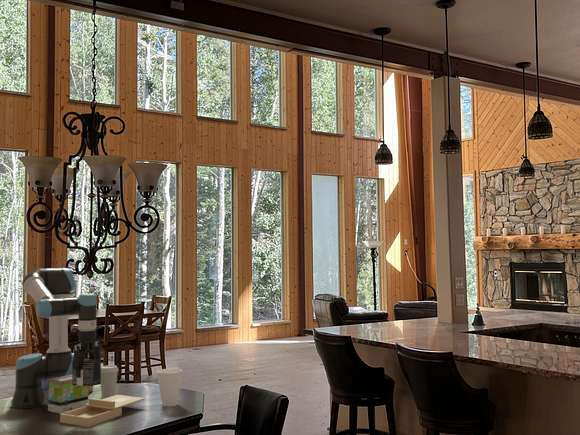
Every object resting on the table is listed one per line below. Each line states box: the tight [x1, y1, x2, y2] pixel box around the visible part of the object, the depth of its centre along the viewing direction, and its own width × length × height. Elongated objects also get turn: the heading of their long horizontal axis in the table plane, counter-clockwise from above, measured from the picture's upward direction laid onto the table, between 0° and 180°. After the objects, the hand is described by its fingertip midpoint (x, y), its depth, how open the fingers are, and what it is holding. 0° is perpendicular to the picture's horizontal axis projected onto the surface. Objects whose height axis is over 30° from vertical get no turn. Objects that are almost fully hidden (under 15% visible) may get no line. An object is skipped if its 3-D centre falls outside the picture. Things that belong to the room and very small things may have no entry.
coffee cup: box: [100, 364, 120, 399], centre depth 309 cm, size 10×10×15 cm
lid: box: [86, 394, 146, 409], centre depth 282 cm, size 17×20×3 cm
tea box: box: [47, 375, 89, 414], centre depth 285 cm, size 15×10×15 cm
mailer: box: [59, 406, 123, 427], centre depth 268 cm, size 16×20×4 cm
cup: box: [156, 368, 183, 408], centre depth 292 cm, size 12×12×16 cm
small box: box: [72, 358, 102, 387], centre depth 267 cm, size 11×6×10 cm, turn 77°
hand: (86, 383), depth 266 cm, fingers closed on small box, 7 cm apart
